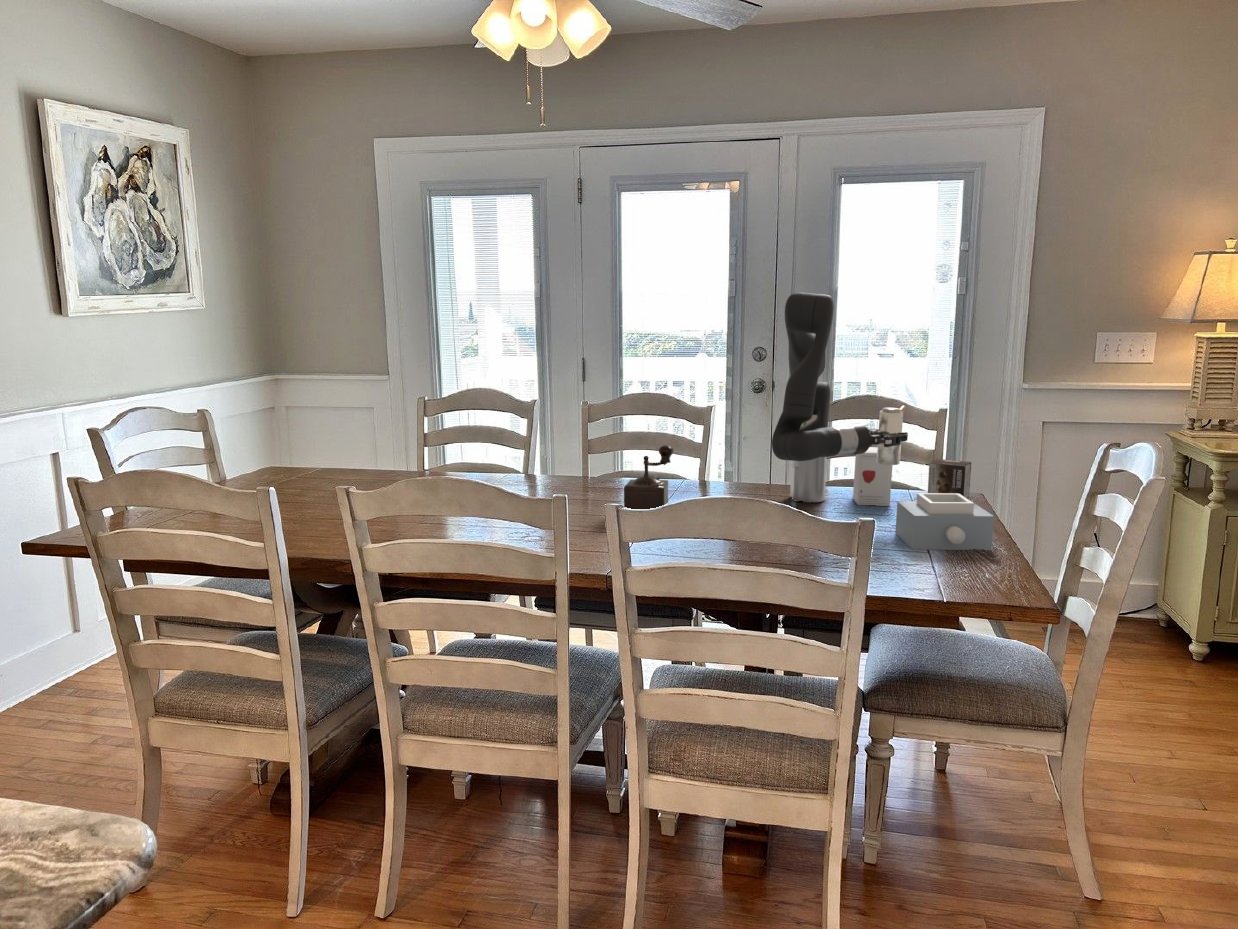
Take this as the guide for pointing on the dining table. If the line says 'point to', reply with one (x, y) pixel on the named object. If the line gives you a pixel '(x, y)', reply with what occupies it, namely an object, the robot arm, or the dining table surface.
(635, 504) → the manual coffee grinder
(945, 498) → the box
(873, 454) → the supplement box
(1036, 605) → the dining table surface
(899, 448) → the spout can
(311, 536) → the dining table surface
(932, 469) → the coffee box
